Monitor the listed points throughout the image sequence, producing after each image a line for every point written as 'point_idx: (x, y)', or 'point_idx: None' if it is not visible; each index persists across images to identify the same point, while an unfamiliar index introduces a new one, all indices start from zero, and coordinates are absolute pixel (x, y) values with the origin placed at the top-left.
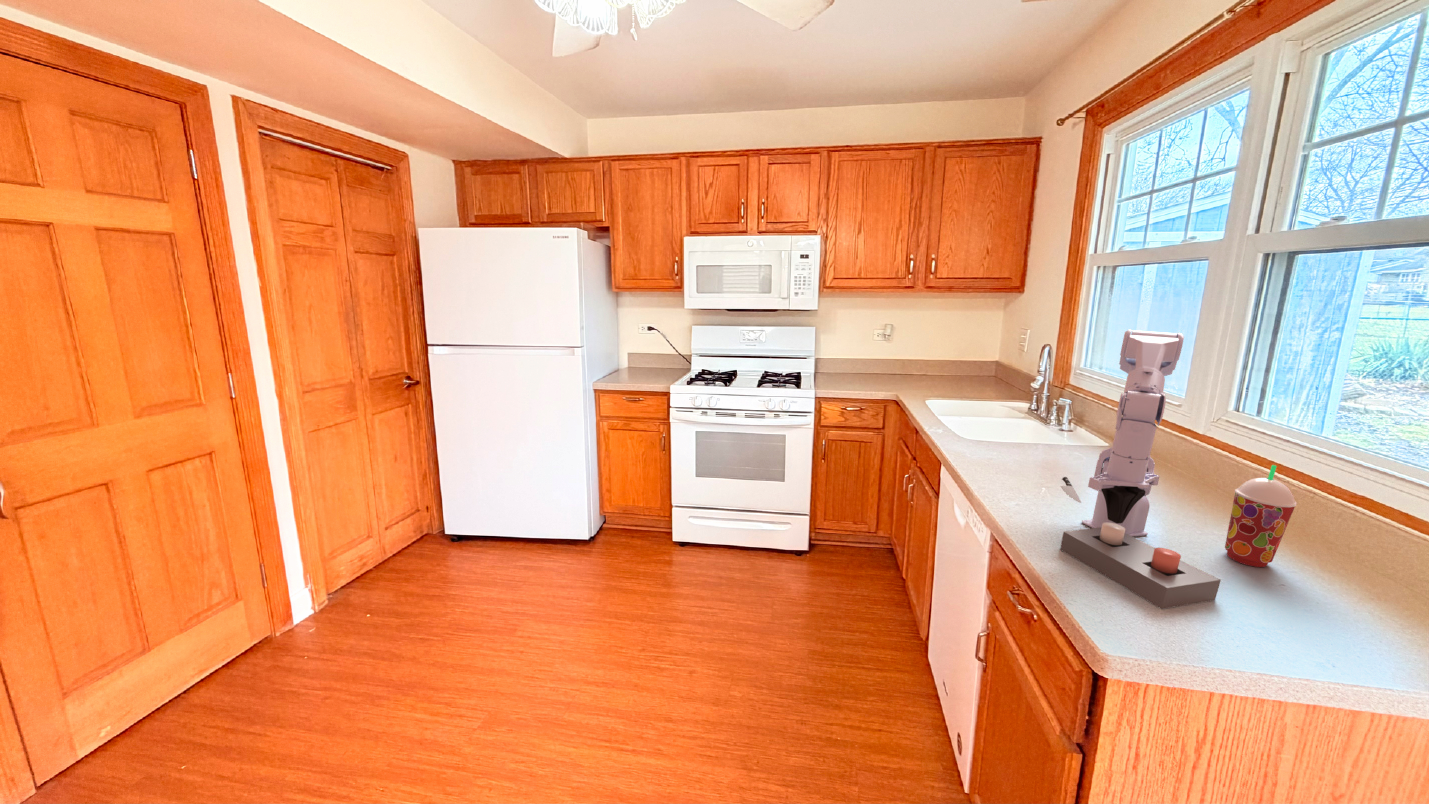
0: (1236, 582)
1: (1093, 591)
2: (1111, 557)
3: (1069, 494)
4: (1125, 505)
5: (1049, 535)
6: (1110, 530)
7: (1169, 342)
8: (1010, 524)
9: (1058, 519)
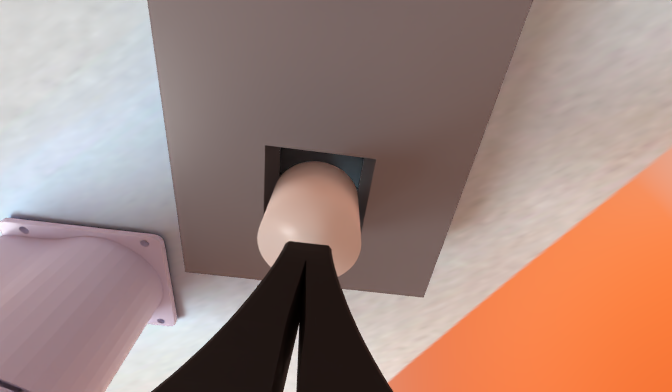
0: None
1: (642, 18)
2: (495, 96)
3: None
4: (330, 358)
5: (349, 303)
6: (358, 227)
7: None
8: (393, 362)
9: None
